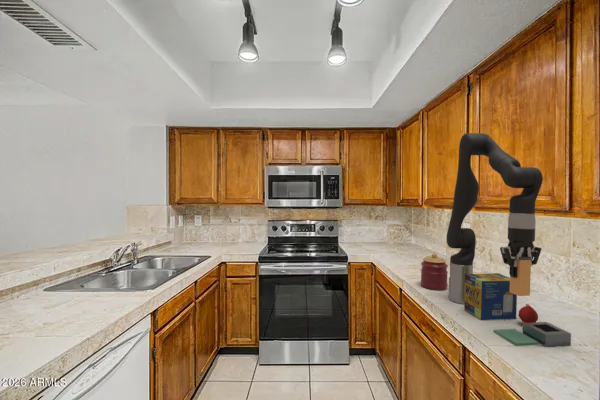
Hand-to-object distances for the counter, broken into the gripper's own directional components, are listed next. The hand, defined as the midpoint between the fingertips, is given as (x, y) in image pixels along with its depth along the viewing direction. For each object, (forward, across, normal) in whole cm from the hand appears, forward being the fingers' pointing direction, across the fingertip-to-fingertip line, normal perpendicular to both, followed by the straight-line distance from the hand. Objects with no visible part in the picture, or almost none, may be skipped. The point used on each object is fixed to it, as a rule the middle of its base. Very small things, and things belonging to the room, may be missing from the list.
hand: (519, 276), depth 105 cm
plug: (+6, 0, 0) cm, 6 cm away
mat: (+21, +1, 0) cm, 21 cm away
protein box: (+21, -5, -20) cm, 30 cm away
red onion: (+21, -12, -9) cm, 26 cm away
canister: (+22, -3, -57) cm, 61 cm away
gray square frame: (+21, -8, +2) cm, 23 cm away
